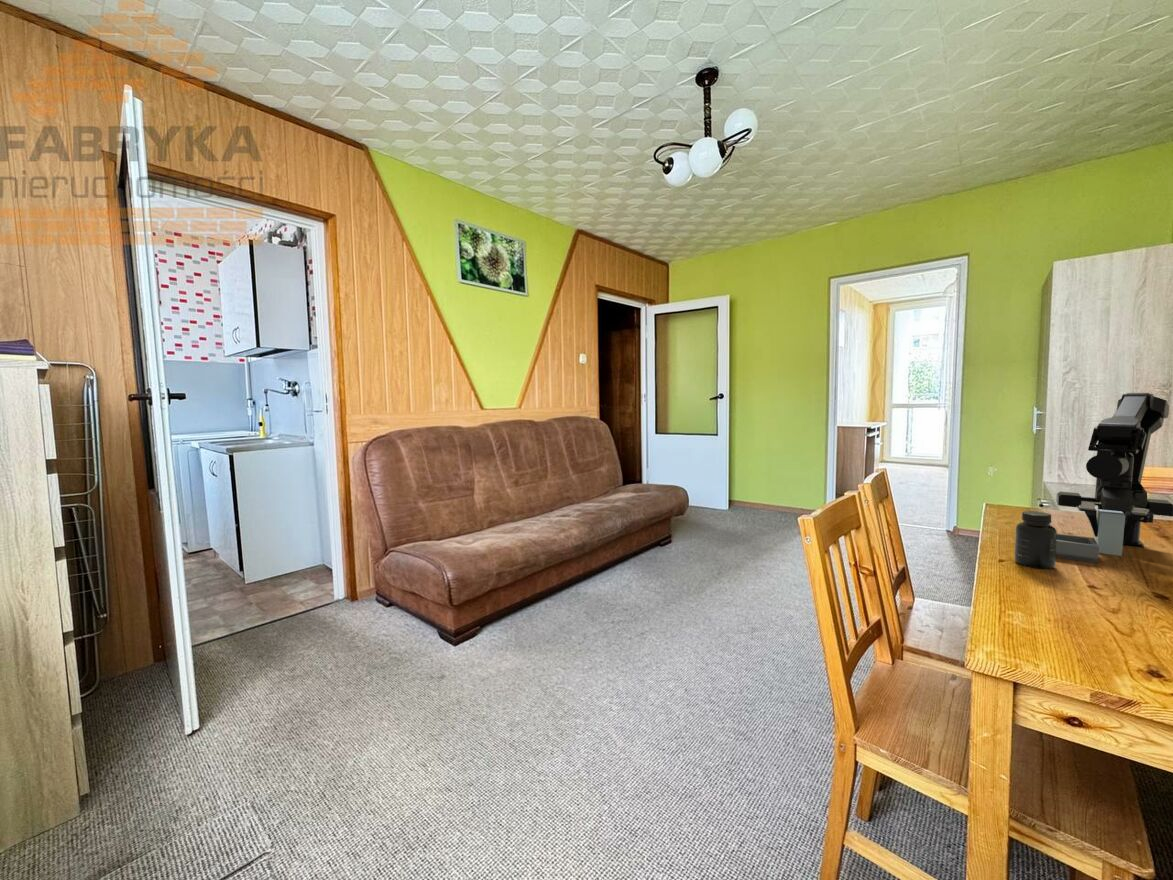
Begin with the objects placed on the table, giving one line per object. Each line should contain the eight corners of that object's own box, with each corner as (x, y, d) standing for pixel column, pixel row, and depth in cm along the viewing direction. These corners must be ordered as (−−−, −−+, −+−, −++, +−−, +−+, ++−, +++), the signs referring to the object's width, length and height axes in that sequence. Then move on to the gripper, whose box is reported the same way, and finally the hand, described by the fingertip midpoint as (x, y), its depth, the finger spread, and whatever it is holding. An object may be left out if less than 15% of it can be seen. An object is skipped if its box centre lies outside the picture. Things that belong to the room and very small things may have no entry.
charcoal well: (1046, 547, 119) (1047, 532, 119) (1092, 553, 114) (1093, 537, 113) (1048, 556, 113) (1050, 539, 113) (1097, 563, 108) (1099, 546, 107)
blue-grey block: (1094, 548, 118) (1097, 509, 117) (1118, 551, 115) (1121, 511, 114) (1097, 552, 115) (1100, 512, 114) (1121, 556, 112) (1125, 514, 111)
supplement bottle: (1037, 559, 111) (1040, 509, 110) (1063, 569, 104) (1067, 517, 103) (1006, 558, 112) (1009, 509, 111) (1030, 569, 105) (1033, 517, 104)
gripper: (1062, 475, 113) (1058, 539, 114) (1186, 484, 101) (1179, 554, 102) (1058, 469, 121) (1053, 528, 123) (1171, 476, 109) (1165, 542, 111)
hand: (1109, 538), depth 114 cm, fingers closed on blue-grey block, 4 cm apart
